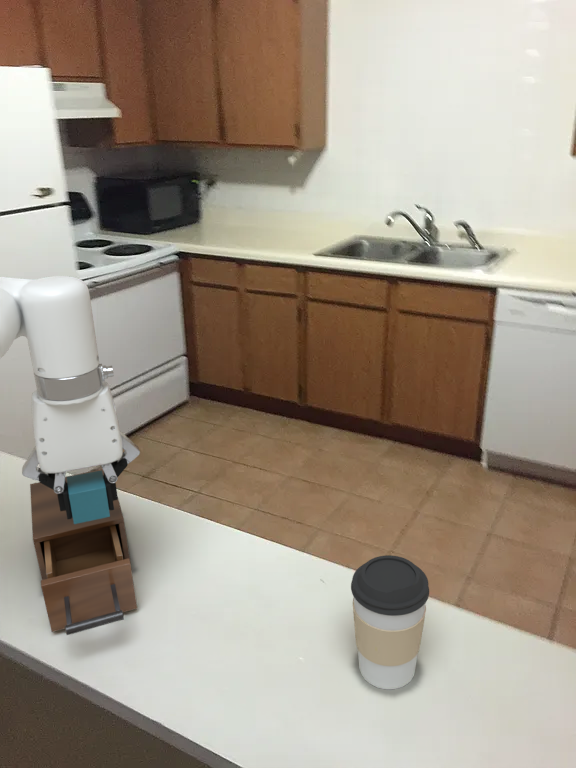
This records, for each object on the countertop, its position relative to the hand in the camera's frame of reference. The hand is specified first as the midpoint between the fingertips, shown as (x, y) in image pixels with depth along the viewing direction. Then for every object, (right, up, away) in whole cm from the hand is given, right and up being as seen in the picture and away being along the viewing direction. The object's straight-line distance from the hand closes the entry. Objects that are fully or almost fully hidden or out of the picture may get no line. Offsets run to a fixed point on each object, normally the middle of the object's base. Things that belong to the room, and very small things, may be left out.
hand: (89, 507), depth 87 cm
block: (0, 0, 0) cm, 1 cm away
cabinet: (-7, -10, +19) cm, 23 cm away
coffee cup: (+38, -19, -4) cm, 43 cm away
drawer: (-2, -15, +7) cm, 16 cm away
